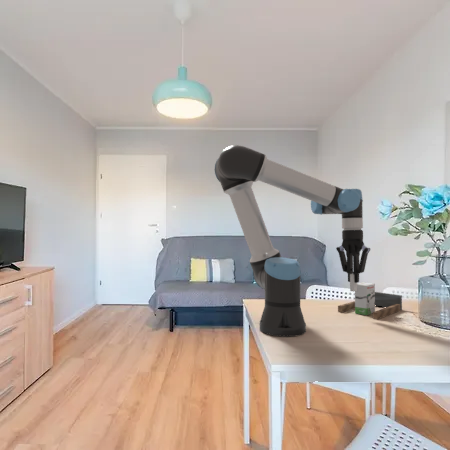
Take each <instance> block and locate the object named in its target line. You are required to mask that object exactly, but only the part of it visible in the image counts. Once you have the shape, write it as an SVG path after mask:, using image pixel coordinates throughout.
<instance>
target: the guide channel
mask: <svg viewBox="0 0 450 450" xmlns="http://www.w3.org/2000/svg"><path fill="white" fill-rule="evenodd" d="M375 305H376V306H375V307H377V306H382V307H381V309H379V310H375V312H373V313H372V314H373V315H372V316H373V317H372V319H374V320H379V319H381V318H385V317H387V316H390V315H392V314H395V313H397V312H401V311H402V310H403V296H402V295H400V294H394V293H393V294H392V293H387V292H381V291H380V292H377V291H375ZM383 307H386V308H383ZM354 308H355V300H354V301H351V302H347V303H343V304H340V305H337V313H344V312H349V311H351V310H355V309H354Z"/></svg>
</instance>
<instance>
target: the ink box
mask: <svg viewBox="0 0 450 450" xmlns="http://www.w3.org/2000/svg"><path fill="white" fill-rule="evenodd" d="M375 285H376V284H375V283H371V282H365V281H364V282H363V281H362V282H358V283H357V291H354V301H355V309H354V313H355V314H356V315H357V314H358V315H362V316H368V315H371V314H373V312H375V311H376V306H375V292H376V290H375V289H376V287H375Z"/></svg>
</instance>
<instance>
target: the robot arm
mask: <svg viewBox="0 0 450 450" xmlns="http://www.w3.org/2000/svg"><path fill="white" fill-rule="evenodd" d="M214 175H215V177H216V179H217V181H218V182H219V183H220V186H221V188H222V191H223V193H225V194H227V195H228V196H229V197H230V201H231V203H232V206H233V209H234V212H235V214H236V217H237V219H238V221H239V224H240V225H239V226H240V228H241V230H242V233H243V236H244V239H245V241H246V243H247V247H248V249H249V252H250V255H251V256H250V259H249V264H250V266H251V269H252V276H253V280H254V282H255V283H256V285H257V286H258V287H259V288H261V289H262V290H264V307H263V311H262V314H261V317H260V320H259V331H260V332H261V333H263V334H266V335H269V336H270V335H271V336H275V337H297V336H302V335H304V334H305V333H306V332H307V327H306V326H307V324H306V321H305V318H304V315H303V311H302V308H301V307H302V306H301V274H302V270H301V264H300V262H299V261H298V260H296V259H294V258H288V257H282V256H281V253H280V250H279V249H277V248H275V247H274V246H273V243H272V241H271V238H270V234H269V232H268V229H267V226H266V223H265V221H264V218H263V215H262V213H261V210H260V207H259V204H258V202H257V199H256V197H255V194H254V191H253V188H252V186H253V183H256V182H258V181H259V182H262V183H264V184H267V185H269V186H272V187H276V188H278V189H280V190H282V191H286V192H288V193H291V194H293V195H296V196H298V197H301V198H303V199H306V200H307V201H308V200H309V201H310V209H311V211H312V213H313V214H314V215H341V228H342V231H341V236H342V237H341V239H342V243H341V244H340V246H337V247H335V248H336V249H335V250H336V252H337V253H338V257H339V260H340V265H341V269H342V271H343V272H345V273H346V274H347V282H349V291H350V292H354V293H355V291H357V283H360V274H362V273H365V270H366V265H367V259H368V255H369V252H370V251H371V248H370V247H368V246H366V245H365V242H364V230H363V228H364V221H363V216H364V215H363V202H364V200H363V192H362V190H361V189H360V188H345V189H343V188H341V187H340V186H336V185H332V184H331V183H327V182H326V181H323V180H320V179H318V178H316V177H313V176H310V175H308V174H306V173H304V172H301V171H298V170H295V169H293V168H291V167H288V166H287V165H283V164H280V163H279V162H276V161H273V160H272V159H268V158H267V156H266V154H265V153H261V152H259V151H257V150H254V149H252V148H249V147H246V146H243V145H239V144H238V145H237V144H235V145H234V144H233V145H229V146H228V147H225V149H223V150H222V151H221V152H220V154H219V156H218V158H217V159H216V162H215V164H214ZM361 251H362V253H361ZM360 254H361V255H360Z"/></svg>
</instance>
